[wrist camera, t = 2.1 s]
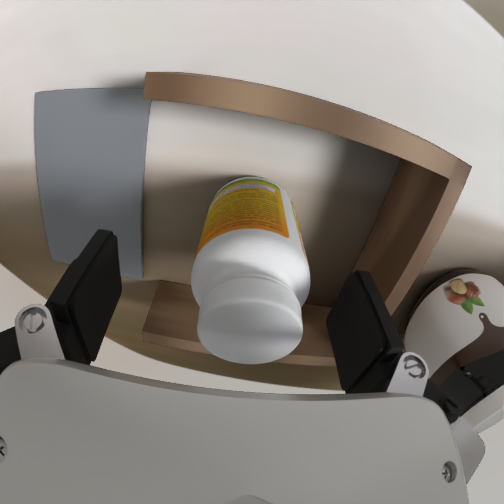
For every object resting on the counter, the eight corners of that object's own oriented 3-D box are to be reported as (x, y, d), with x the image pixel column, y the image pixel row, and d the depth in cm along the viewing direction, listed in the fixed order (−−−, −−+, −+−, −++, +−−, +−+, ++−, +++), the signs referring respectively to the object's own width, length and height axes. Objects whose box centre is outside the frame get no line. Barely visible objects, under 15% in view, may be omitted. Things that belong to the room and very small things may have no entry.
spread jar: (498, 258, 18) (567, 359, 8) (458, 341, 24) (495, 429, 14) (384, 276, 18) (446, 430, 9) (361, 364, 25) (385, 474, 15)
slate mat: (152, 89, 12) (150, 89, 11) (143, 276, 18) (141, 280, 18) (39, 91, 11) (35, 92, 11) (54, 256, 18) (51, 260, 17)
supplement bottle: (192, 211, 16) (149, 330, 9) (254, 156, 14) (255, 253, 7) (248, 262, 18) (245, 385, 11) (310, 217, 16) (347, 337, 9)
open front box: (423, 138, 13) (472, 166, 9) (339, 317, 21) (352, 367, 17) (178, 72, 11) (146, 71, 8) (160, 290, 19) (143, 341, 15)
